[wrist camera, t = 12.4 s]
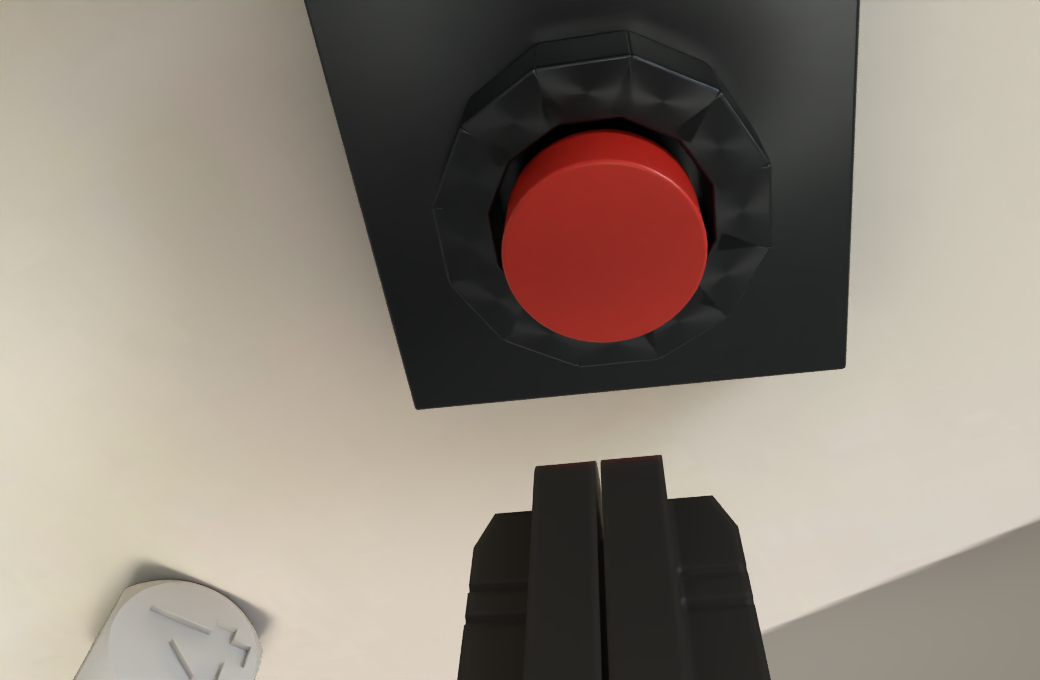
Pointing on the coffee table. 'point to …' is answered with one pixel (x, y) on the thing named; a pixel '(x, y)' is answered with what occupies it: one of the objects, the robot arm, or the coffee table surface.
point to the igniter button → (603, 236)
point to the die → (173, 637)
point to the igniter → (587, 106)
